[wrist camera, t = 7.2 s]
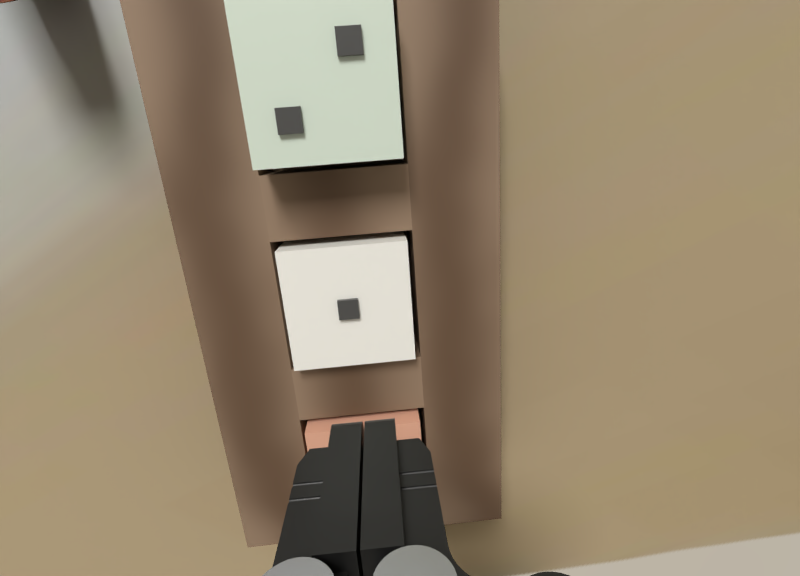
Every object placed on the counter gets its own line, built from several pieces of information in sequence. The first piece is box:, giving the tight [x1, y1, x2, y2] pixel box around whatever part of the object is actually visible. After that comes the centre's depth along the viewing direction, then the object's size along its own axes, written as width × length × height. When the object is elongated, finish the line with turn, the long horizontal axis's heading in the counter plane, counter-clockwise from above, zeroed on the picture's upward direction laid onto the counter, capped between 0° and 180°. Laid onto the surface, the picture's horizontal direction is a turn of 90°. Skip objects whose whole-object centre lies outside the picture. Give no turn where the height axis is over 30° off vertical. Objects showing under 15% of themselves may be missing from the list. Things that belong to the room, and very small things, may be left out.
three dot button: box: [305, 408, 421, 451], centre depth 24 cm, size 6×6×4 cm
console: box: [120, 0, 501, 547], centre depth 23 cm, size 14×27×5 cm, turn 4°
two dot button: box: [224, 0, 404, 170], centre depth 17 cm, size 6×6×4 cm
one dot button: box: [275, 231, 416, 371], centre depth 21 cm, size 6×6×4 cm
